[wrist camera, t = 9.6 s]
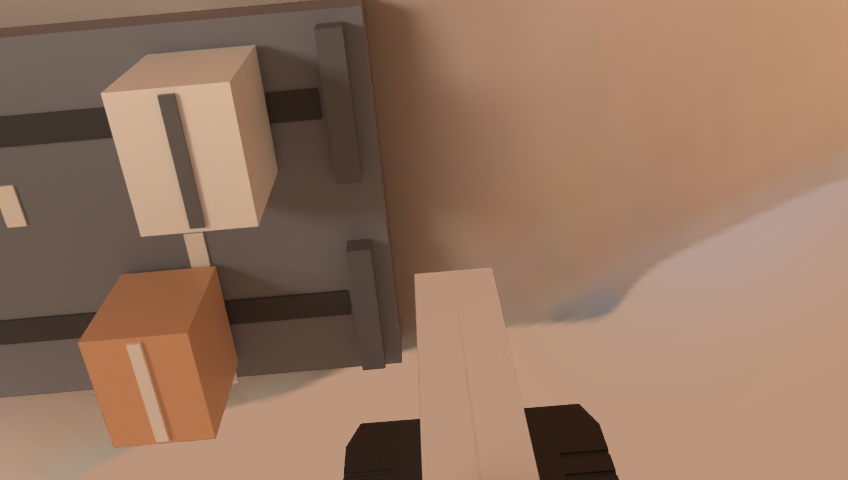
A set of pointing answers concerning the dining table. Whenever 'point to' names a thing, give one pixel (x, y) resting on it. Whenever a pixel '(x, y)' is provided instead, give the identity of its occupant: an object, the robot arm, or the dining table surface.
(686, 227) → the dining table surface
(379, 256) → the console
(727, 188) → the dining table surface
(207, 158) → the off-white fader knob
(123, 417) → the terracotta fader knob
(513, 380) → the robot arm
